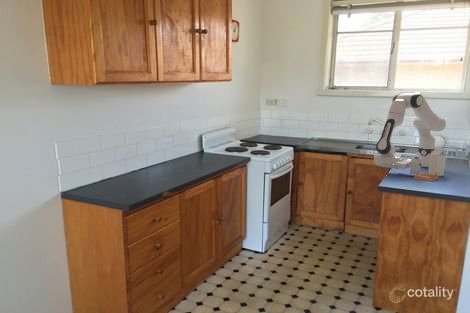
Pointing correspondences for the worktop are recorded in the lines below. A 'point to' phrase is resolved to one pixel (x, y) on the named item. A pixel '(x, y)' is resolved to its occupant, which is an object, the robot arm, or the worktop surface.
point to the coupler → (426, 177)
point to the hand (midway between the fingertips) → (417, 165)
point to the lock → (416, 162)
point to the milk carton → (437, 162)
